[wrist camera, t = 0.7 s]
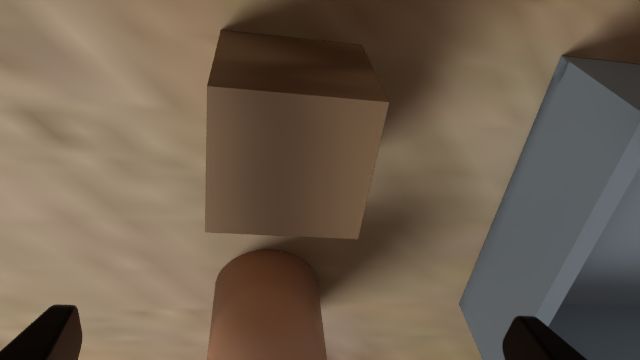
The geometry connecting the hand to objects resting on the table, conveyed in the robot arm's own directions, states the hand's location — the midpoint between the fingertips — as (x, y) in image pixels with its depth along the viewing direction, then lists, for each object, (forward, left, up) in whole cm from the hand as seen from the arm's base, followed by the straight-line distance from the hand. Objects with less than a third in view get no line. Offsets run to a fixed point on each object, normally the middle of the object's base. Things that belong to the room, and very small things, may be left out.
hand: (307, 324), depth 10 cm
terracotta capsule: (-8, +6, -11) cm, 15 cm away
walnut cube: (0, 0, -11) cm, 11 cm away
